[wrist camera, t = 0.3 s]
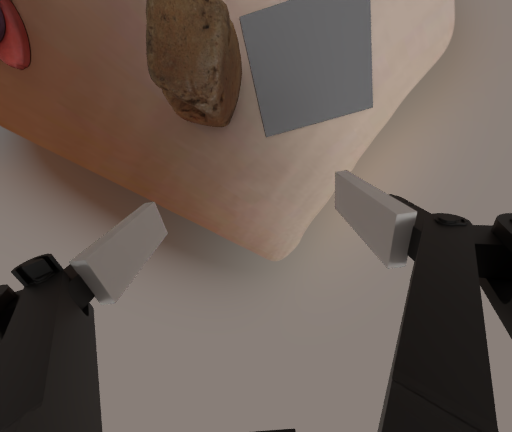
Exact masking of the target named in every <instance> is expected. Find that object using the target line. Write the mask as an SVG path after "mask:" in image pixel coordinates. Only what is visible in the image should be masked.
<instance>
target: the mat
mask: <svg viewBox="0 0 512 432" xmlns="http://www.w3.org/2000/svg"><path fill="white" fill-rule="evenodd" d="M240 22H241V27H242V31H243V36H244V40H245V45H246V49H247V53H248V58H249V62H250V67H251V71H252V76H253V80H254V85H255V89H256V94H257V98H258V103H259V107H260V112H261V116H262V121H263V125H264V130H265V134H266V137H269V136H272V135H276V134H279V133H283V132H286V131H290V130H294V129H297V128H301V127H304V126H308V125H311V124H315V123H319V122H322V121H326V120H329V119H333V118H336V117H340V116H344V115H347V114H351V113H354V112H358V111H362V110H365V109H369V108H372V107H373V95H372V52H371V10H370V0H289V1H286V2H283V3H280V4H277V5H274V6H271V7H268V8H265V9H262V10H259V11H256V12H253V13H250V14H247V15H244V16H241V17H240Z"/></svg>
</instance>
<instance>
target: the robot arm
mask: <svg viewBox="0 0 512 432" xmlns="http://www.w3.org/2000/svg"><path fill="white" fill-rule="evenodd" d="M335 209H336V210H337V211H338V212H339V213H340V214H341V216H342V217H343V218H344V219H345V220H346V221H347V222H348V224H349V225H350V226H351V227H352V228H353V229H354V230H355V232H356V233H357V234H358V235H359V236H360V237H361V238H362V240H363V241H364V242H365V243H366V244H367V245H368V247H369V248H370V249H371V250H372V251H373V252H374V253H375V255H376V256H377V257H378V258H379V259H380V260H381V261H382V263H383V264H384V265H385V266H386V267H387V268H388V269H389V268H397V267H405V266H406V261H407V256H409V257H410V258H412V259H413V260H414V261H415V262H414V266H413V271H412V275H411V279H410V285H409V290H408V294H407V299H406V303H405V308H404V313H403V317H402V322H401V326H400V331H399V335H398V340H397V345H396V350H395V354H394V359H393V363H392V368H391V372H390V377H389V382H388V386H387V391H386V396H385V400H384V405H383V409H382V414H381V418H380V423H379V428H378V432H498V427H497V420H496V412H495V404H494V396H493V388H492V380H491V372H490V364H489V356H488V348H487V339H486V331H485V324H484V316H483V308H482V300H481V291H480V286H481V287H482V289H483V291H484V292H485V294H486V296H487V298H488V299H489V301H490V303H491V304H492V306H493V308H494V310H495V311H496V313H497V315H498V316H499V318H500V320H501V321H502V323H503V325H504V326H505V328H506V330H507V332H508V333H509V335H510V337H511V339H512V213H510V214H509V213H506V214H501V215H499V216H498V217H497V218H496V220H495V222H494V225H493V226H485V225H472V224H471V222H470V221H469V220H467V219H465V218H463V217H460V216H457V215H452V214H444V213H437V214H431V213H429V212H427V211H425V210H424V209H421V208H420V207H418V206H416V205H414V204H413V203H411V202H408V201H407V200H405V199H404V198H402V197H399V196H395V195H392V194H389V195H388V194H386V193H385V192H383V191H381V190H380V189H378V188H376V187H374V186H373V185H371V184H369V183H368V182H366V181H364V180H363V179H361V178H359V177H357V176H356V175H354V174H352V173H351V172H349V171H347V170H345V171H339V172H335ZM167 234H168V232H167V230H166V228H165V225H164V223H163V221H162V218H161V216H160V214H159V211H158V209H157V207H156V204H155V202H149V203H145V204H143V205H142V206H141V207H139V208H138V209H137V210H135V211H134V212H133V213H131V214H130V215H129V216H128V217H126V218H125V219H124V220H122V221H121V222H120V223H119V224H117V225H116V226H115V227H113V228H112V229H111V230H110V231H108V232H107V233H106V234H105V235H103V236H102V237H101V238H99V239H98V240H97V241H95V242H94V243H93V244H92V245H90V246H89V247H88V248H86V249H85V250H84V251H83V252H81V253H80V254H79V255H78V256H76V257H75V258H74V259H72V260H71V261H70V262H69V263H70V265H69V266H68V267H66V268H65V269H63V268H62V267H61V266H60V264H59V263H58V262H57V261H56V259H55V258H54V257H53V256H52V254H44V255H41V256H38V257H35V258H33V259H30V260H28V261H26V262H24V263H22V264H20V265H19V266H17V267H16V268H14V269H13V270H12V271H11V273H12V274H13V275H14V276H15V277H16V278H17V279H18V280H19V281H20V282H21V283H22V284H23V285H24V289H23V290H20V291H17V292H14V291H13V290H12V289H11V288H10V287H9V286H8V285H0V432H102V422H101V409H100V394H99V381H98V366H97V352H96V338H95V325H94V310H93V307H92V305H91V304H90V303H89V302H90V301H91V300H92V299H93V298H94V297H95V298H96V299H97V300H98V301H99V303H100V304H101V305H105V304H113V303H116V302H117V300H118V299H119V298H120V296H121V295H122V294H123V292H124V291H125V290H126V288H127V287H128V286H129V284H130V283H131V282H132V280H133V279H134V278H135V276H136V275H137V274H138V272H139V271H140V270H141V268H142V267H143V266H144V264H145V263H146V262H147V260H148V259H149V258H150V256H151V255H152V254H153V252H154V251H155V250H156V248H157V247H158V246H159V244H160V243H161V242H162V240H163V239H164V238H165V236H166V235H167ZM256 432H295V429H284V430H270V431H256Z"/></svg>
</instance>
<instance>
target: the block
mask: <svg viewBox="0 0 512 432" xmlns="http://www.w3.org/2000/svg"><path fill="white" fill-rule="evenodd" d="M146 18H147V30H146V46H147V63H148V70H149V74H150V76H151V79H152V80H153V82H154V83H155V84H156V85H157V86H158V87H159V88H161V89H162V91H163V94H164V95H165V97H166V99H167V100H168V102H169V104H170V105H171V106H172V107H173V110H174V111H175V112H176V114H177V115H179V116H180V117H181V118H183V119H185V120H187V121H190V122H193V123H197V124H201V125H207V126H214V127H224V126H227V125H228V124H229V122H230V119H231V117H232V115H233V112H234V110H235V107H236V103H237V100H238V96H239V90H240V85H241V75H242V67H241V55H240V50H239V43H238V39H237V35H236V31H235V29H234V25H233V23H232V21H231V20H230V18H229V12H228V9H227V5H226V4H225V3H224V2H223V1H222V0H147V6H146Z"/></svg>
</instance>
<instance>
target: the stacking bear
mask: <svg viewBox="0 0 512 432" xmlns="http://www.w3.org/2000/svg"><path fill="white" fill-rule="evenodd" d="M0 59H1V60H2V61H3V62H5V63H6V64H7V65H9V66H11V67H14V68H18V69H21V70H22V69H24V68H25V67H28V65H29V63H30V48H29V41H28V37H27V34H26V31H25V28H24V25H23V22H22V20H21V18H20V16H19V14H18V12H17V10H16V9H15V7H14V5H13V4H12V2H11V1H10V0H0Z"/></svg>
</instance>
